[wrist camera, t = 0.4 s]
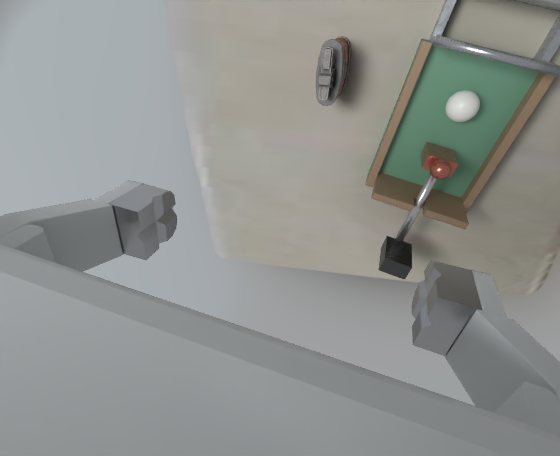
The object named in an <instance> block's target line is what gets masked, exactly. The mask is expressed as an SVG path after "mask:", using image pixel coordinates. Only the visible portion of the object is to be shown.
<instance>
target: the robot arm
mask: <svg viewBox="0 0 560 456" xmlns="http://www.w3.org/2000/svg"><path fill="white" fill-rule="evenodd" d="M174 205H175V197H174V194H173V193H172V192H171V191H168V190H164V189H160V188H157V187H154V186H150V185H147V184H143V183H140V182H136V181H127V182H125V183H123V184H121V185H120V186H118V187H116V188H115V189H113V190H111V191H109V192H107V193H106V194H104V195H102V196H100V197H99V198H97V199H95V200H92V199H87V200H82V201H76V202H71V203H65V204H60V205H54V206H49V207H43V208H38V209H32V210H27V211H21V212H15V213H10V214H5V215H2V216H0V456H560V362H559V361H558V360H557V359H556V358H555V357H554V356H553V355H551V353H549V352H548V351H547V350H546V349H545V348H544V347H543V346H542V345H541V344H540V343H539V342H537V341H536V340H535V339H534V338H533V337H532V336H531V335H530V334H529V333H528V332H526V331H525V330H524V329H523V328H522V327H521V326H520V325H519V324H517V323H516V321H514V320H513V319H510V318H507V316H506V313H505V311H504V308H503V305H502V302H501V299H500V297H499V294H498V291H497V288H496V285H495V283H494V280H493V277H492V276H491V275H490V274H487V273H483V272H478V271H474V270H468V269H464V268H460V267H456V266H452V265H448V264H444V263H440V262H436V261H432V260H431V261H430V262H429V263H428V265H427V267H426V269H425V271H424V274H425V280H424V281H422V282H420V283H419V284H418V286H417V288H416V291H415V294H414V298H413V302H412V315H413V316H414V317H415V322H414V323H413V325H412V334H413V345H414V346H417V347H420V348H423V349H426V350H429V351H432V352H435V353H438V354H441V355H444V356H446V357H445V358H446V360H447V361H448V363H449V364H450V366H451V367H452V369H453V371H454V372H455V374H456V376H457V377H458V379H459V380H460V382H461V383H462V385H463V387H464V388H465V390H466V392H467V393H468V395H469V396H470V398H471V399H472V401H473V403H474V404H475V406H473V405H470V404H467V403H464V402H462V401H459V400H456V399H453V398H450V397H447V396H444V395H441V394H438V393H435V392H432V391H429V390H426V389H423V388H420V387H418V386H415V385H412V384H409V383H406V382H403V381H400V380H397V379H394V378H391V377H388V376H385V375H382V374H379V373H376V372H373V371H370V370H367V369H364V368H362V367H359V366H355V365H353V364H350V363H347V362H344V361H341V360H338V359H335V358H333V357H330V356H327V355H324V354H321V353H318V352H315V351H312V350H309V349H306V348H303V347H301V346H297V345H295V344H292V343H289V342H286V341H283V340H280V339H277V338H274V337H272V336H269V335H266V334H263V333H260V332H257V331H254V330H251V329H248V328H245V327H242V326H239V325H236V324H234V323H230V322H228V321H225V320H222V319H219V318H216V317H213V316H210V315H207V314H204V313H201V312H198V311H195V310H192V309H189V308H187V307H183V306H181V305H177V304H175V303H172V302H169V301H166V300H163V299H160V298H157V297H154V296H151V295H148V294H146V293H142V292H139V291H137V290H134V289H131V288H128V287H125V286H122V285H119V284H116V283H113V282H110V281H107V280H104V279H102V278H99V277H96V276H93V275H90V274H87V273H84V272H83V271H85V270H88V269H90V268H92V267H95V266H97V265H100V264H102V263H105V262H107V261H109V260H112V259H114V258H117V257H119V256H121V255H123V254H126V255H130V256H133V257H137V258H140V259H144V260H147V259H148V258H149V257H150V256H151V255H152V254H153V253H155V252H156V251H157V250H158V249H159V243H162V242H165V241H168V240H169V239H170V238H171V237H172V236H173V234H174V231H175V229H176V225H177V216H176V214H175V212H174V211H173V209H172V208H173V206H174Z"/></svg>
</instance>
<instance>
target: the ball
mask: <svg viewBox="0 0 560 456" xmlns="http://www.w3.org/2000/svg"><path fill="white" fill-rule="evenodd" d="M479 107H480V100H479V97H478V96H477V95H476V94H475V93H474V92H472V91H469V90H462V91H459V92H456V93H455V94H453V95H452V96H451V97H450V98H449V100H448V101H447V104H446V114H447V116H448V117H449V118H450V119H451V120H452V121H455V122H465V121H468V120H470V119H471V118H473V117H474V116H475V115H476V113H477V112H478V110H479Z"/></svg>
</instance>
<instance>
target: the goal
mask: <svg viewBox="0 0 560 456" xmlns="http://www.w3.org/2000/svg"><path fill="white" fill-rule="evenodd" d="M515 1H519V2H524V3H528V4H533V5H537V6H542V7H546V8H551V9H555V10H560V0H515ZM455 3H456V0H446V1H445V3H444V6H443V8H442V10H441V13H440V15H439V18H438V20H437V23H436V25H435V27H434V30H433V32H432V35H431V37H430V40H429V41H430V42H432V43H433V45H434V46H438V47H442V48H446V49H450V50H454V51H458V52H462V53H466V54H470V55H474V56H478V57H482V58H486V59H490V60H494V61H498V62H501V63H505V64H509V65H513V66H517V67H521V68H525V69H529V70H533V71H537V72H541V73H545V74H549V75H553V76H557V77H560V65H557V64H554V63H551V62H550V60H551V58H552V57H553V55H554V54H555V52H556V50H557V49H558V47H559V46H560V15H559V17H558V19H557V20H556V22H555V24H554V25H553V27H552V29H551V30H550V32H549V34H548V35H547V37H546V39H545V40H544V42H543V44H542V45H541V47H540V49H539V51H538V52H537V54H536V56H535V57H534V59H531V58H526V57H522V56H518V55H514V54H510V53H506V52H502V51H498V50H494V49H490V48H486V47H482V46H478V45H474V44H470V43H466V42H462V41H458V40H454V39H450V38H446V37H442V36H441V35H442V33H443V31H444V28H445V26H446V24H447V21H448V19H449V17H450V14H451V12H452V10H453V7H454V5H455Z"/></svg>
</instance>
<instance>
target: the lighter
mask: <svg viewBox="0 0 560 456" xmlns="http://www.w3.org/2000/svg"><path fill="white" fill-rule="evenodd" d="M349 67H350V42H349V40H348V39H347V38H346V37H343V36H340V37H337V38H335V39H331V40H328V41H326V42H325V43H324V44H323V46H322V48H321V52H320V56H319V59H318V65H317V72H316V94H317V100H318V102H319V103H320V104H321V105H324V106H329V105H332V104H333V103H334V102H335V100H336V98H337V96H339V95H340V94H341V93H342V92H343V90H344V87H345V84H346V81H347V77H348V72H349Z"/></svg>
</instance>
